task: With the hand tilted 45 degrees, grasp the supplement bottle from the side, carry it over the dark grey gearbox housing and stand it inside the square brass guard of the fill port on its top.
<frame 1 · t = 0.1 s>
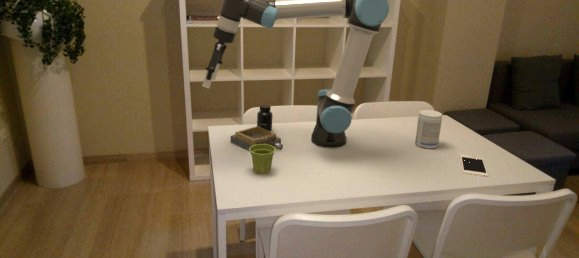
hand: (208, 82, 165), 28 cm above the table, tool tilted 20°, fingers open, 13 cm apart
supplement tub: (425, 145, 189), on the table
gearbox: (255, 144, 183), on the table
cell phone: (472, 166, 171), on the table
supplement bottle: (264, 131, 197), on the table
plant pot: (262, 171, 159), on the table
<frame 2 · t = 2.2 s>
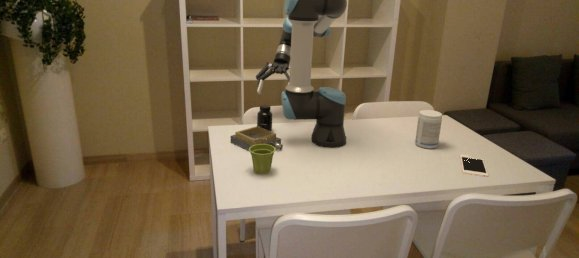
hand: (272, 94, 201), 15 cm above the table, tool tilted 45°, fingers open, 13 cm apart
nothing on the table moved.
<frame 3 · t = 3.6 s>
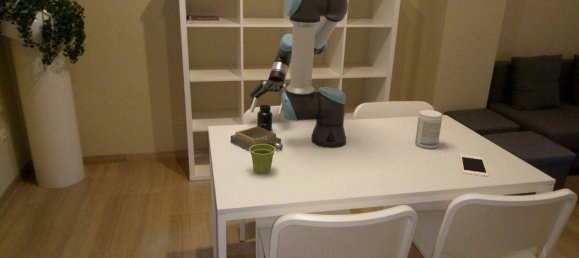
hand: (265, 113, 197), 8 cm above the table, tool tilted 45°, fingers open, 13 cm apart
nothing on the table moved.
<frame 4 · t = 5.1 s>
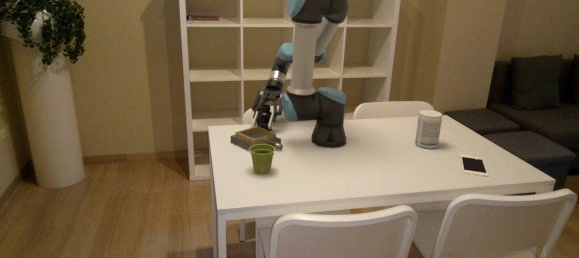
hand: (261, 126, 193), 3 cm above the table, tool tilted 45°, fingers closed on supplement bottle, 7 cm apart
supplement bottle: (264, 131, 197), on the table, touching gripper
everything else where it was.
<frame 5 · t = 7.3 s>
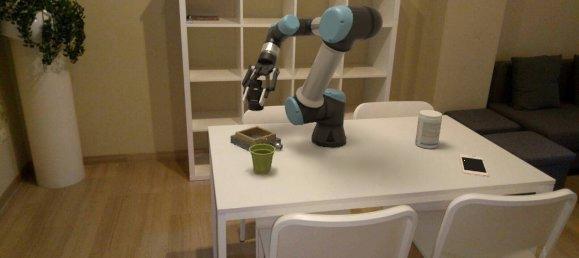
hand: (252, 103, 175), 18 cm above the table, tool tilted 45°, fingers closed on supplement bottle, 7 cm apart
supplement bottle: (255, 109, 179), point 15 cm above the table, touching gripper
everything else where it was.
when the fingers open (8 cm above the table, at t = 9.8 s): supplement bottle drops 1 cm, resting on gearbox.
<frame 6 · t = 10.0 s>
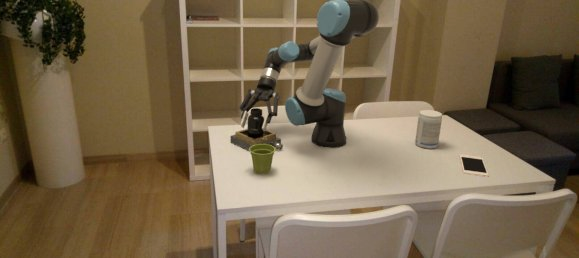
hand: (252, 127, 177), 8 cm above the table, tool tilted 45°, fingers open, 9 cm apart
supplement bottle: (255, 137, 182), point 3 cm above the table, touching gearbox
everything else where it was.
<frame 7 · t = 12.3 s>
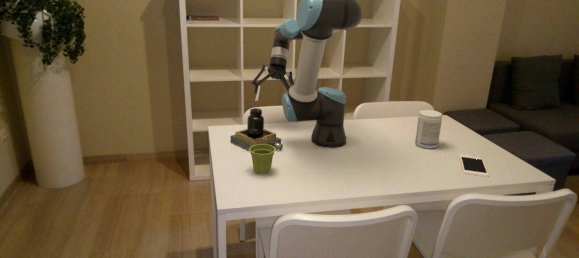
hand: (271, 104, 192), 13 cm above the table, tool tilted 30°, fingers open, 13 cm apart
nothing on the table moved.
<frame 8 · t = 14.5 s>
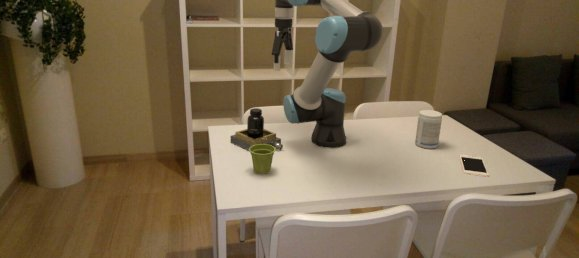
hand: (282, 67, 192), 29 cm above the table, tool pointing down, fingers open, 13 cm apart
nothing on the table moved.
at the end: supplement bottle inside the target area on the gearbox (0.2 cm from its centre), point 2.8 cm above the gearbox's base; supplement bottle tilted 0°; the gripper is holding nothing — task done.
